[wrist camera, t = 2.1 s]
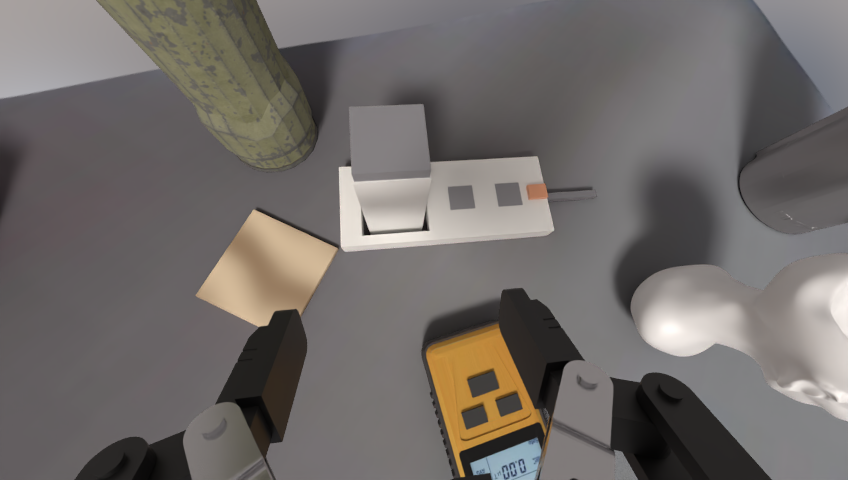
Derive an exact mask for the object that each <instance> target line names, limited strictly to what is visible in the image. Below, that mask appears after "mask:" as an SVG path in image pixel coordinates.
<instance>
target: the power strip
mask: <svg viewBox="0 0 848 480" xmlns="http://www.w3.org/2000/svg"><path fill="white" fill-rule="evenodd" d="M430 164H431V184H430V190H429V195H428V200H427V206H426V221H427V230H428V231H419V232H406V233H393V234H379V235H366V236H364V220H363V212H362V209H361V206H360V203H359V200H358V197H357V195H356V192H355V189H354V186H353V182H352V174H351V167H339V187H340V226H341V248H342V249H343V250H344V252H349V251H362V250H374V249H387V248H400V247H412V246H425V245H438V244H450V243H463V242H475V241H488V240H501V239H513V238H526V237H539V236H547V235H548V234H550V233H551V232H553V231H554V226H553V222H552V217H551V213H550V209H549V204H548V202H554V201H568V200H583V199H593V198H595V197H596V196H597V194H596V190H586V191H571V192H556V193H547V189H546V184H544V182H543V178H542V173H541V169H540V164H539V160H538V156H535V157H516V158H498V159H480V160H462V161H443V162H430Z"/></svg>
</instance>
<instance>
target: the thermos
mask: <svg viewBox="0 0 848 480" xmlns="http://www.w3.org/2000/svg"><path fill="white" fill-rule="evenodd" d="M96 1H97V2H98V3H99V4H100V5H101V6H102V7H103V8H104V9H105V10H106V11H107V12H108V13H109V15H110V16H111V17H112V18H113V19H114V20H115V21H116V22H117V23H118V24H119V25H120V26H121V27H122V28H123V29H124V30H125V32H126V33H127V34H128V35H129V36H130V37H131V38H132V39H133V40H134V41H135V42H136V43H137V44H138V46H139V47H140V48H141V49H142V50H143V51H144V52H145V53H146V54H147V55H148V56H149V57H150V58H151V59H152V60H153V62H155V64H156V65H157V66H158V67H159V68H160V69H161V70H162V71H163V72H164V73H165V74H166V75H167V76H168V78H169V79H170V80H171V81H172V82H173V83H174V84H175V85H176V86H177V87H178V88H179V89H180V90H181V91H182V92H183V94H184V95H185V96H186V97H187V98H188V99H189V100H190V101H191V102H192V103H193V104H194V106H195V109H196V111H197V114H198V116H199V119H200V121H201V123H202V124H203V125H204V126H205V127H206V128H207V129H208V130H209V131H210V132H211V133H212V134H213V135H214V136H215V137H216V138H217V139H218V140H219V141H220V142H221V143H222V144H223V145H224V146H225V147H226V148H227V149H228V150H229V151H231V152H233V153H234V154H236V155H237V157H238V158H239V159H240V160H241V161H242V162H243V163H244V164H246V165H247V166H249V167H251V168H252V169H254V170H258V171H263V172H282V171H285V170H288V169H291V168H294V167H295V166H297V165H298V164H300V163H301V162H303V161H304V160H306V158H307V157H308V156H309V155H310V153H311V152H312V151H313V149H314V147H315V144H316V141H317V127H316V124H315V122H314V119H313V117H312V111H311V109H310V106H309V103H308V101H307V99H306V96H305V94H304V91H303V89H302V87H301V84H300V82H299V80H298V77H297V76H296V74H295V73H294V71H293V70H292V69H291V67H290V66H289V64H288V63H287V61H286V60H285V58H284V57H283V56H282V55H281V54H280V52H279V50H278V48H277V46H276V43H275V41H274V39H273V36H272V34H271V32H270V30H269V28H268V25H267V23H266V21H265V19H264V16H263V14H262V12H261V10H260V8H259V5H258V3H257V1H256V0H96Z"/></svg>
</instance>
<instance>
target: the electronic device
mask: <svg viewBox="0 0 848 480" xmlns="http://www.w3.org/2000/svg"><path fill="white" fill-rule="evenodd" d="M422 359H423V363H424V367H425V370H426V374H427V377H428V381H429V384H430V388H431V392H430V396H431V398H433V399H434V401H433V402H432V403H433V406H434V408H436V411H435V414H436V416H437V418H439V420H438V424H439V427H440V428H442V429H441V430H440V432H441V435H442V437H443V438H444V440H443V442H444V445H445V448H447V449H446V453H447V456H448V458H450V459H449V464H450V467H451V469H452V470H451V471H452V474H453V477H454V478H459V477H466V476H472V475H479V474H486V473H490V474H491V478H492V480H535V476H536V472H537V468H538V463H539V459H540V455H541V450H542V446H543V442H544V438H545V433H546V429H547V425H546V418H544V416H543V414H542V412H543V410H542V409H535V408H534V406H533V404H532V401H531V399H530V397H529V395H528V393H527V390H526V388H525V386H524V384H523V381H522V379H521V377H520V375H519V372H518V370H517V368H516V366H515V364H514V361H513V359H512V357H511V355H510V352H509V350H508V348H507V346H506V344H505V341H504V339H503V337H502V335H501V332H500V328H499V320H491V321H488V322H485V323H482V324H479V325H476V326H473V327H470V328H466V329H463V330H460V331H457V332H454V333H451V334H448V335H445V336H442V337H439V338H435V339H432V340H430V341H428V342H427V343H425V344H424V346H423V348H422Z"/></svg>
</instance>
